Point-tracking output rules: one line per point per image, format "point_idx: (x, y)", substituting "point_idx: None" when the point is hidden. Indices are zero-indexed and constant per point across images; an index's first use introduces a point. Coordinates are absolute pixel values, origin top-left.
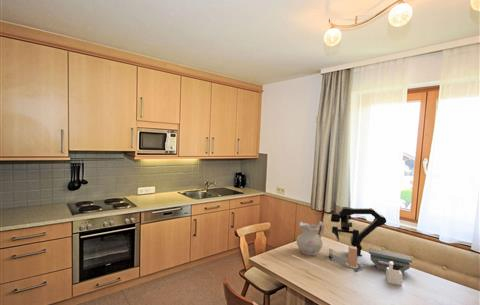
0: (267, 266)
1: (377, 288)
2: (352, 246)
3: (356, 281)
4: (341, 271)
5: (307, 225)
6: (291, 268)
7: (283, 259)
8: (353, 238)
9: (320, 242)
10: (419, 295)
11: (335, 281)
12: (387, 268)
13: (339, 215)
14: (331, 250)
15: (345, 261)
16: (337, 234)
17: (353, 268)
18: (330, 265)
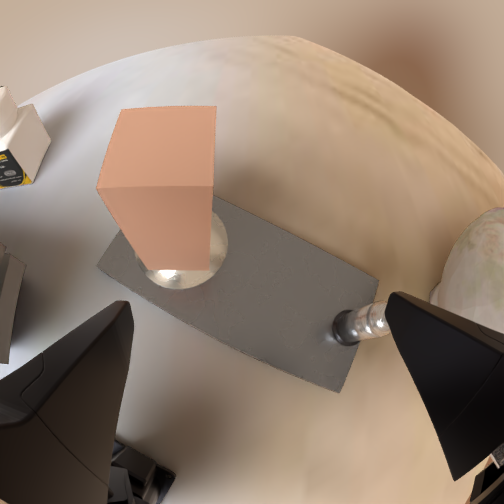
0: (469, 142)
1: (122, 89)
2: (152, 176)
3: (194, 97)
4: (259, 151)
5: None
6: (433, 137)
7: (479, 196)
8: (47, 352)
9: (487, 258)
10: None
11: (282, 82)
12: (14, 133)
13: None
14: (377, 301)
15: (228, 291)
16: (495, 339)
17: None
18: (328, 200)
